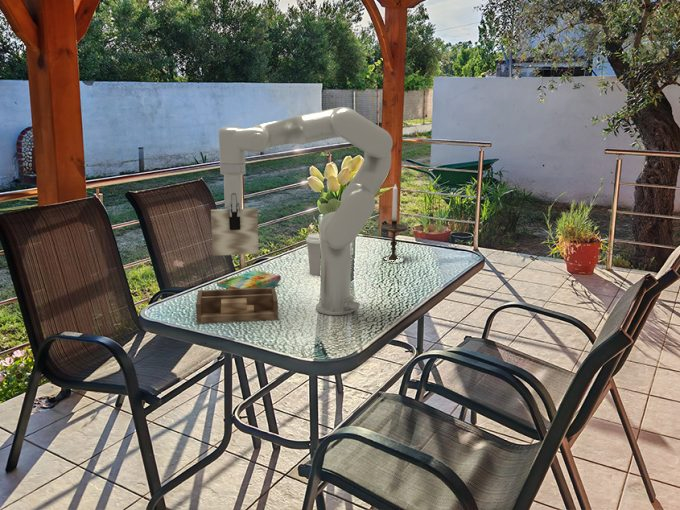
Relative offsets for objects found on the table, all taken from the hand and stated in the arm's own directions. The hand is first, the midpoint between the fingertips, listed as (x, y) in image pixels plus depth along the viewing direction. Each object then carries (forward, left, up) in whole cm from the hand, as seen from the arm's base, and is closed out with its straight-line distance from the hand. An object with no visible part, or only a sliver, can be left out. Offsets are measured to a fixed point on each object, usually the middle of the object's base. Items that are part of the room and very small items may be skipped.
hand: (235, 228), depth 199 cm
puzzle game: (+14, -21, -28) cm, 37 cm away
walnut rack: (-3, +3, -27) cm, 27 cm away
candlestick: (-6, -85, -27) cm, 89 cm away
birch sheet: (0, 0, -8) cm, 8 cm away
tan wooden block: (-4, +5, -26) cm, 27 cm away
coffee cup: (+7, -51, -27) cm, 58 cm away
